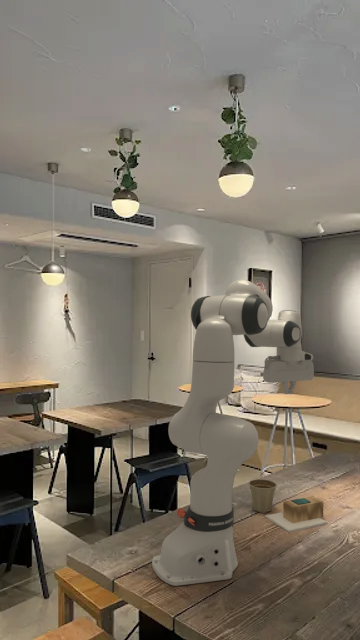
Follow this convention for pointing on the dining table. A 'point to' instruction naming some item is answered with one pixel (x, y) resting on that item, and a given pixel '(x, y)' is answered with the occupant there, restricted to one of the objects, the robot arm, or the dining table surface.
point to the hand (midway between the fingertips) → (288, 393)
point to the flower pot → (262, 494)
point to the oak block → (303, 509)
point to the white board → (290, 526)
